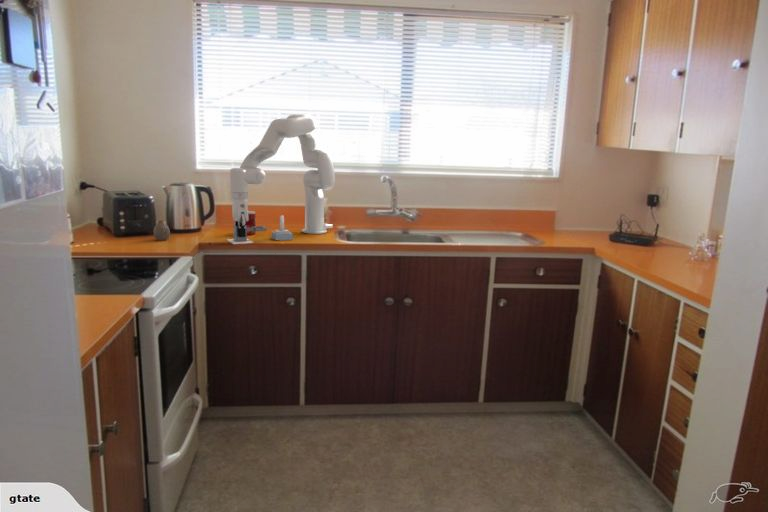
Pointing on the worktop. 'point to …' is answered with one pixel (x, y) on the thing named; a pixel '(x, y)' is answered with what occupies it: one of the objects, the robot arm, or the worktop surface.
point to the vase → (161, 231)
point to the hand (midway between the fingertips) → (240, 235)
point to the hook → (238, 239)
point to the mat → (239, 242)
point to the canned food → (251, 222)
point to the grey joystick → (282, 232)
